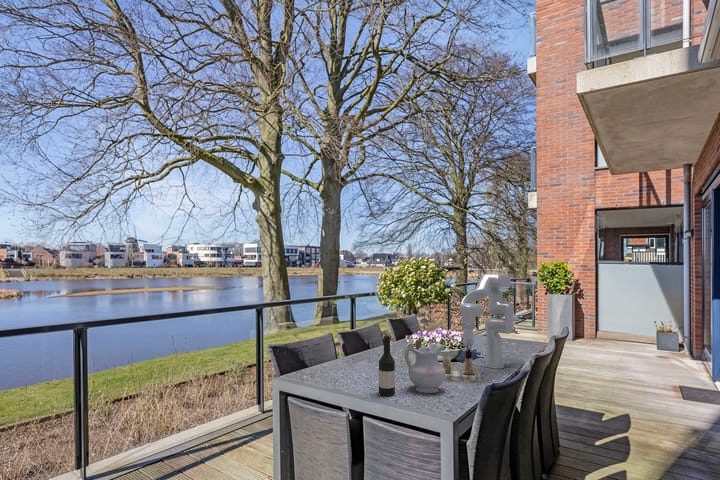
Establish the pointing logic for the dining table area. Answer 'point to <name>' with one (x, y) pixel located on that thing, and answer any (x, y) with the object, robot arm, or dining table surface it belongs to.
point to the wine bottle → (386, 371)
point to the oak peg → (468, 366)
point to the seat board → (458, 373)
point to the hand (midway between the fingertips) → (468, 357)
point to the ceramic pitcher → (426, 368)
